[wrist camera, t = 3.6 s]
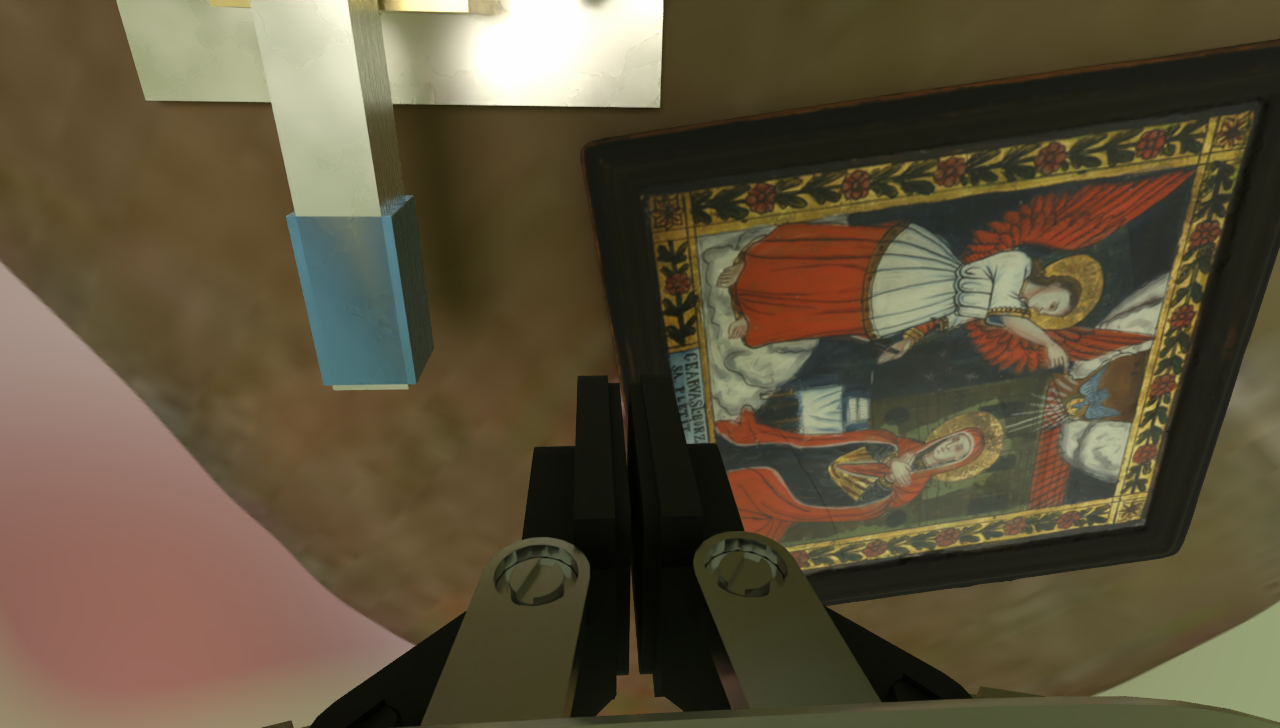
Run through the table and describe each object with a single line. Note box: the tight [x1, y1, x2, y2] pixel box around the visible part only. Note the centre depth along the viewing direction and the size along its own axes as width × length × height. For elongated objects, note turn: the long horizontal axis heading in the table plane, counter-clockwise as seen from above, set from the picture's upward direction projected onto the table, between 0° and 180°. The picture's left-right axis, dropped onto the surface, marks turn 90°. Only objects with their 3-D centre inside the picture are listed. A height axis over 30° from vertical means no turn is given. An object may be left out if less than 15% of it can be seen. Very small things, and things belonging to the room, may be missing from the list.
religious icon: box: [581, 39, 1280, 606], centre depth 38 cm, size 38×35×3 cm
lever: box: [249, 0, 434, 390], centre depth 21 cm, size 18×4×3 cm, turn 179°
